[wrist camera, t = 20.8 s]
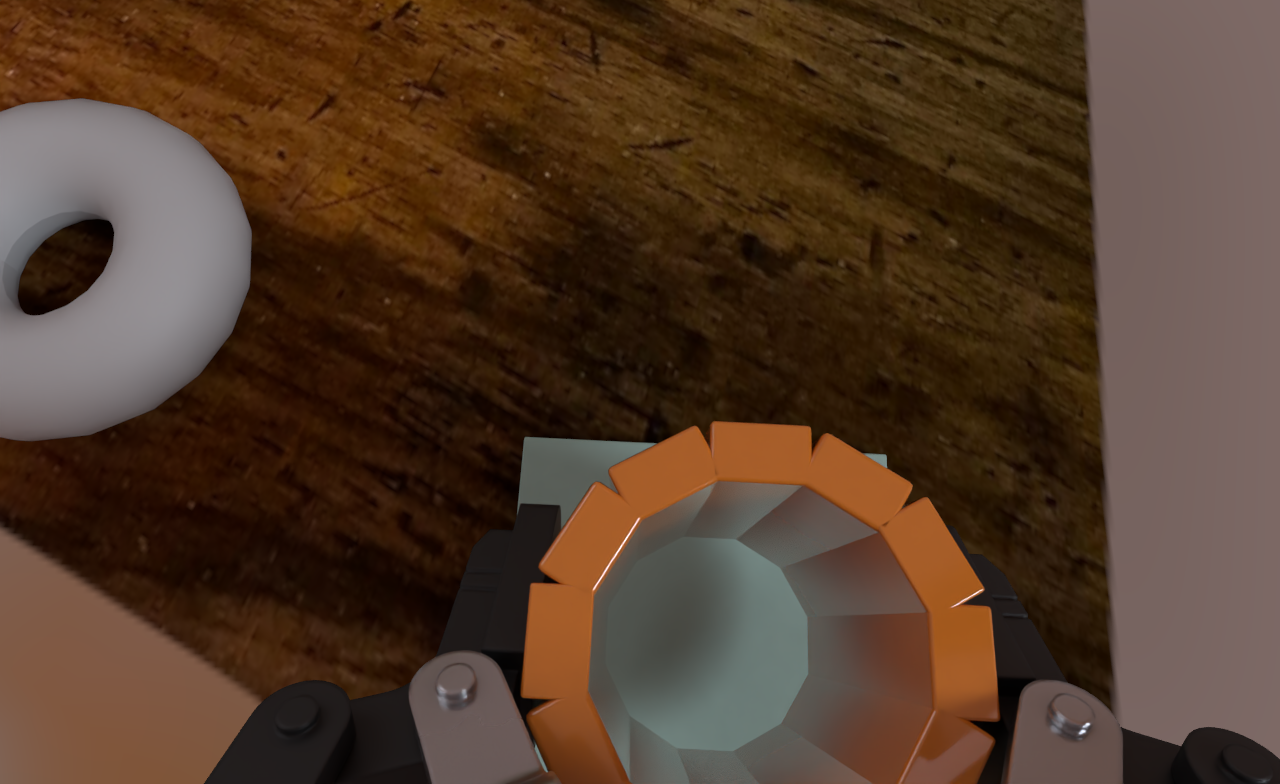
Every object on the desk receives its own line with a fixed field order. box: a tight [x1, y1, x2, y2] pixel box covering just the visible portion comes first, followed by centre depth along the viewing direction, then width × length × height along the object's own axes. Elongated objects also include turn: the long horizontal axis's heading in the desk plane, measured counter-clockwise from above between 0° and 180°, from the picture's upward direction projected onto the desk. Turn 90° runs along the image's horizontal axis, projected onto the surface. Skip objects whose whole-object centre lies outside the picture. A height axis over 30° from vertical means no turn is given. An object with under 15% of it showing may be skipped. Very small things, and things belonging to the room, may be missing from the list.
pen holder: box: [520, 421, 1000, 784], centre depth 14 cm, size 6×6×8 cm
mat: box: [517, 437, 887, 772], centre depth 20 cm, size 10×10×1 cm
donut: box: [0, 98, 252, 441], centre depth 21 cm, size 10×4×10 cm
